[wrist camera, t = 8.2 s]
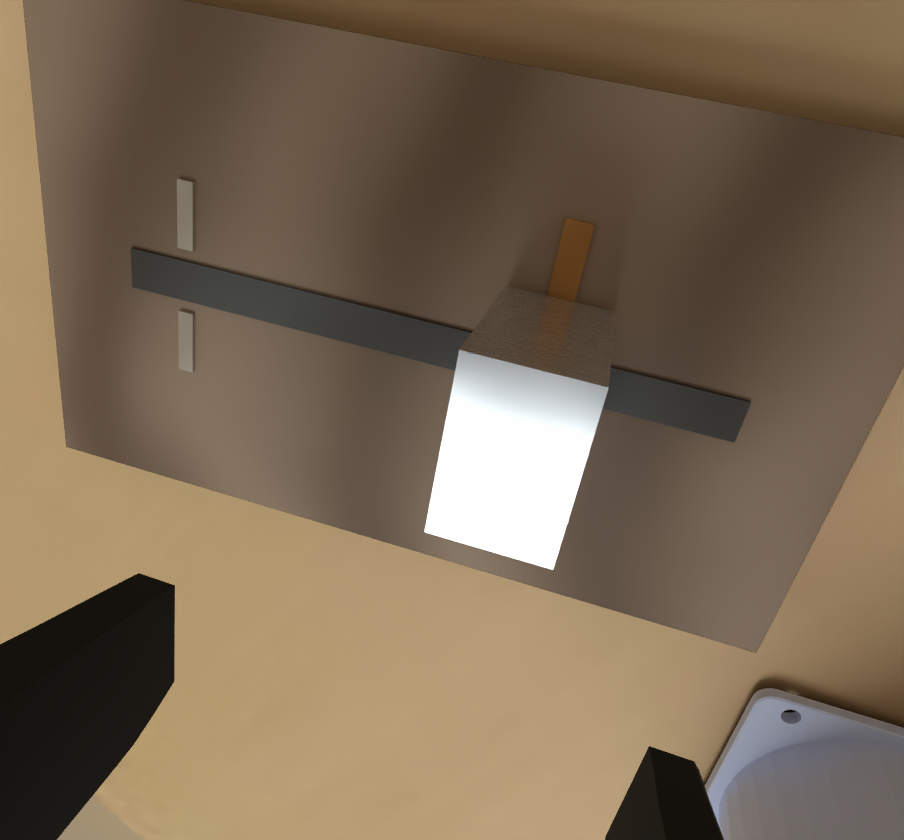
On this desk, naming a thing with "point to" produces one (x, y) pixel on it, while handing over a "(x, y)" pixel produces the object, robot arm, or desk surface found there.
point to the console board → (461, 287)
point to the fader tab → (521, 424)
